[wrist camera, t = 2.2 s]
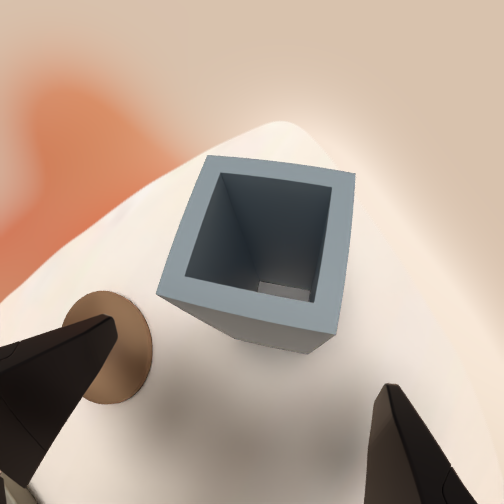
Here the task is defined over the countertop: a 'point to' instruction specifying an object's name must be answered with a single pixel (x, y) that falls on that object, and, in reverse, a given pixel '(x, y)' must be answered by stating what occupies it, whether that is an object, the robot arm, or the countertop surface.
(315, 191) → the sleeve
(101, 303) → the pin base
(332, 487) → the countertop surface
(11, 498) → the cake pan
